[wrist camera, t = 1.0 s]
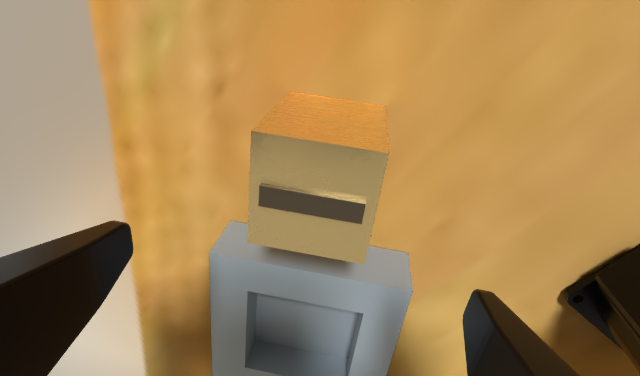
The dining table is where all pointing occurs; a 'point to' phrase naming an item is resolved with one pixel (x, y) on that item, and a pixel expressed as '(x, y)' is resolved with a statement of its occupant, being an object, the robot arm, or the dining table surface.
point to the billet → (317, 176)
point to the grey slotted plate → (303, 310)
